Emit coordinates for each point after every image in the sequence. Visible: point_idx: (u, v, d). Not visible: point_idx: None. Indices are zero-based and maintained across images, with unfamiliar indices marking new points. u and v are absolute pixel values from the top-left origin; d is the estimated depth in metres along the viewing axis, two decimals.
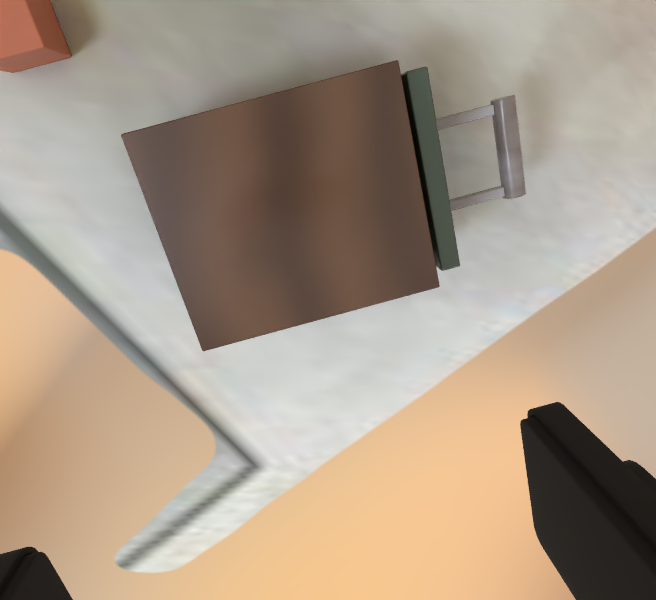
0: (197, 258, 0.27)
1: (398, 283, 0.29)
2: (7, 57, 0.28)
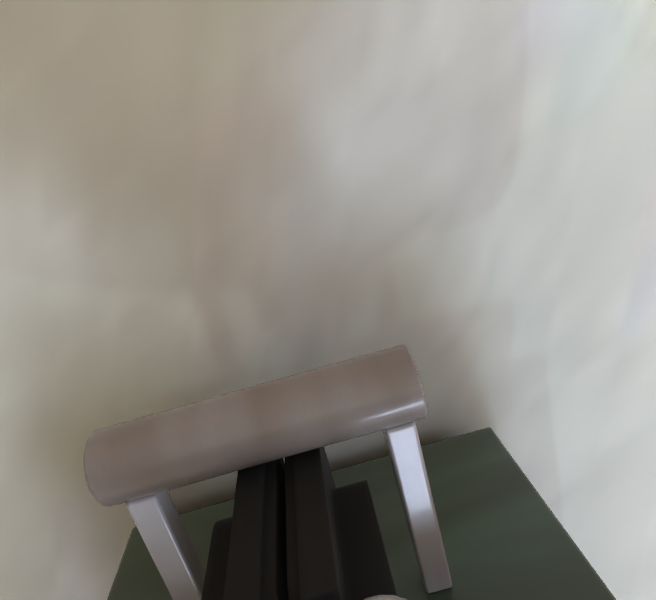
0: None
1: None
2: None
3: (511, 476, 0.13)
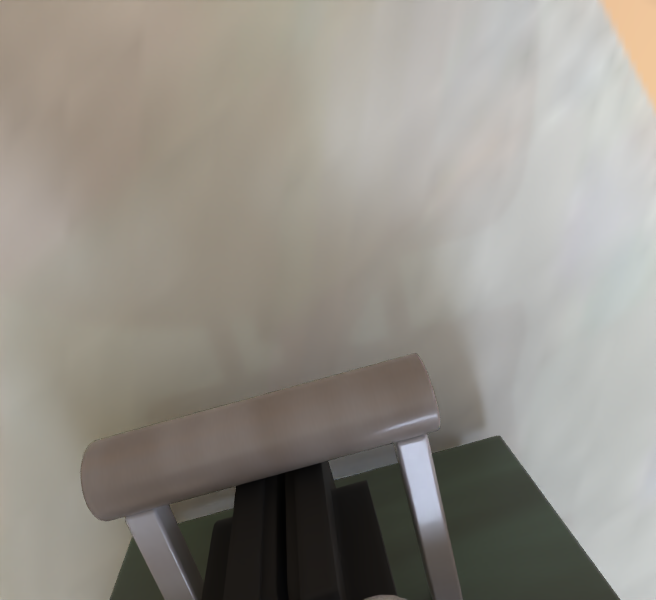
0: None
1: None
2: None
3: (522, 487, 0.13)
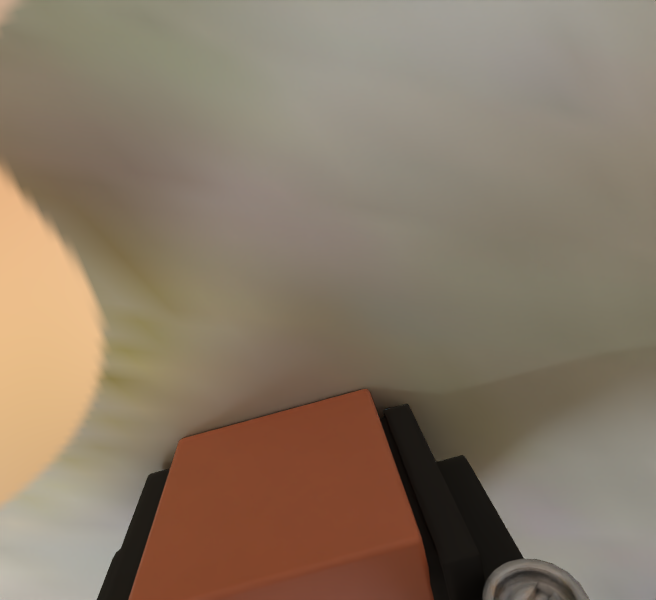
0: None
1: None
2: None
3: None
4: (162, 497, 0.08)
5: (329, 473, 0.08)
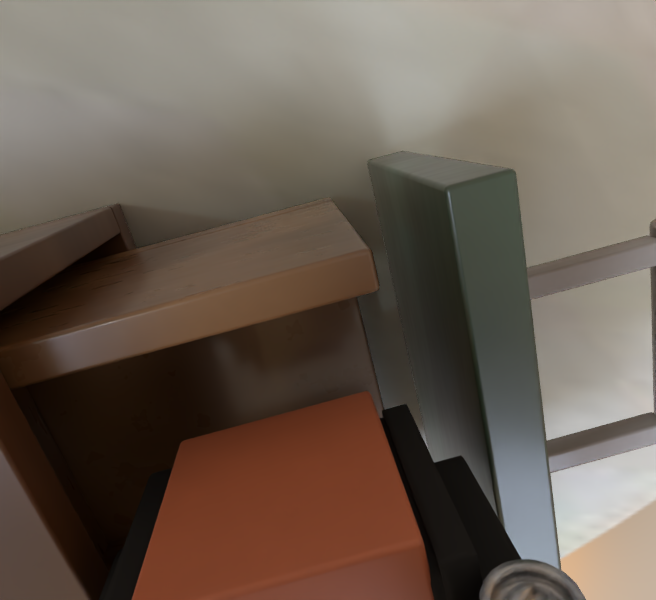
0: None
1: None
2: None
3: None
4: (164, 499, 0.08)
5: (330, 475, 0.08)
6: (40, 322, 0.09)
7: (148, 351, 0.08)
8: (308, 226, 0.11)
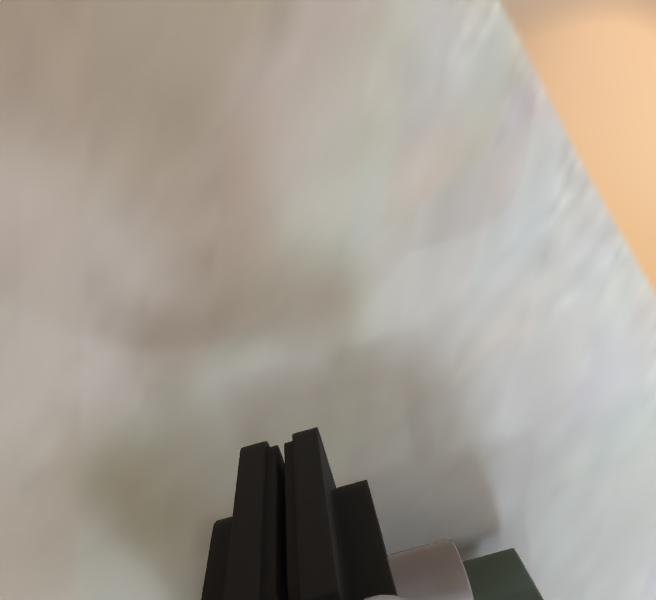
0: None
1: None
2: None
3: None
4: None
5: None
6: None
7: None
8: None
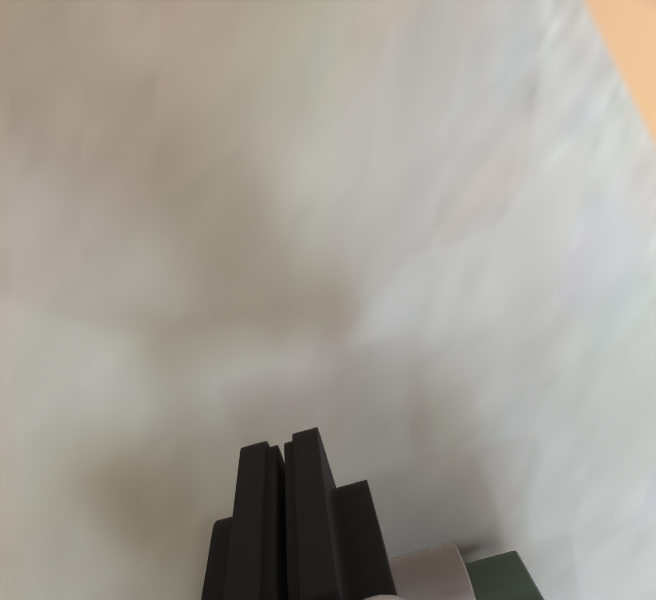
0: None
1: None
2: None
3: None
4: None
5: None
6: None
7: None
8: None
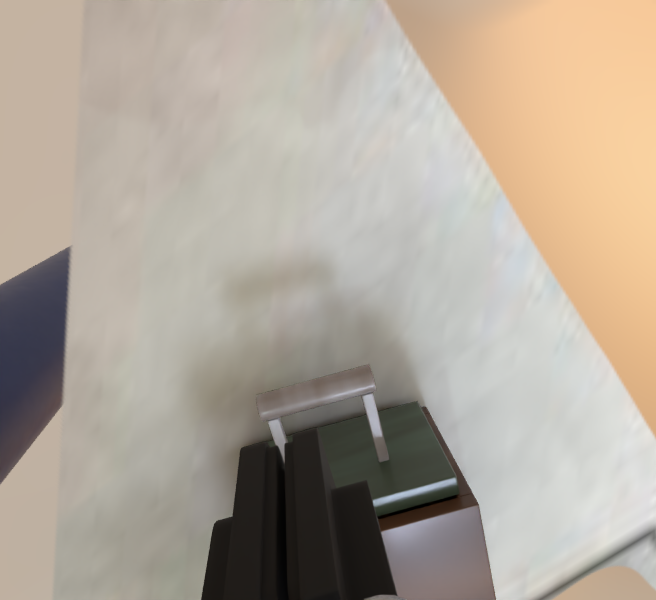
0: None
1: (467, 545, 0.25)
2: None
3: (421, 421, 0.29)
4: None
5: None
6: None
7: None
8: None
